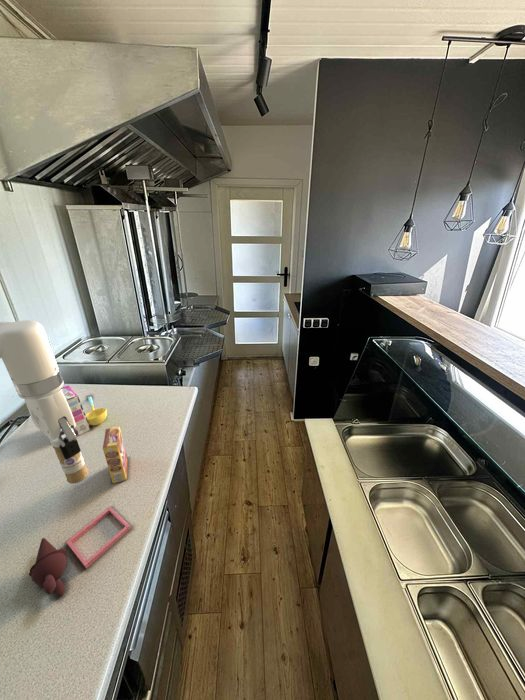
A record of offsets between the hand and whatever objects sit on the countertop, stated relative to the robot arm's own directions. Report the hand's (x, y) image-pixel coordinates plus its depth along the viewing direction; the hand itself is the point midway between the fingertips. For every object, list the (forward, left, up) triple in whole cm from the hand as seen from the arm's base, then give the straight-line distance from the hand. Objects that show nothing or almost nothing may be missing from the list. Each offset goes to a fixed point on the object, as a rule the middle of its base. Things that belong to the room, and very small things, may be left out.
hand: (67, 449), depth 65 cm
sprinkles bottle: (0, 0, -9) cm, 9 cm away
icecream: (-12, -2, -28) cm, 31 cm away
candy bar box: (+17, +45, -28) cm, 56 cm away
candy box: (+14, +12, -28) cm, 33 cm away
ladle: (+25, +51, -28) cm, 63 cm away
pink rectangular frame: (-1, -4, -28) cm, 28 cm away
